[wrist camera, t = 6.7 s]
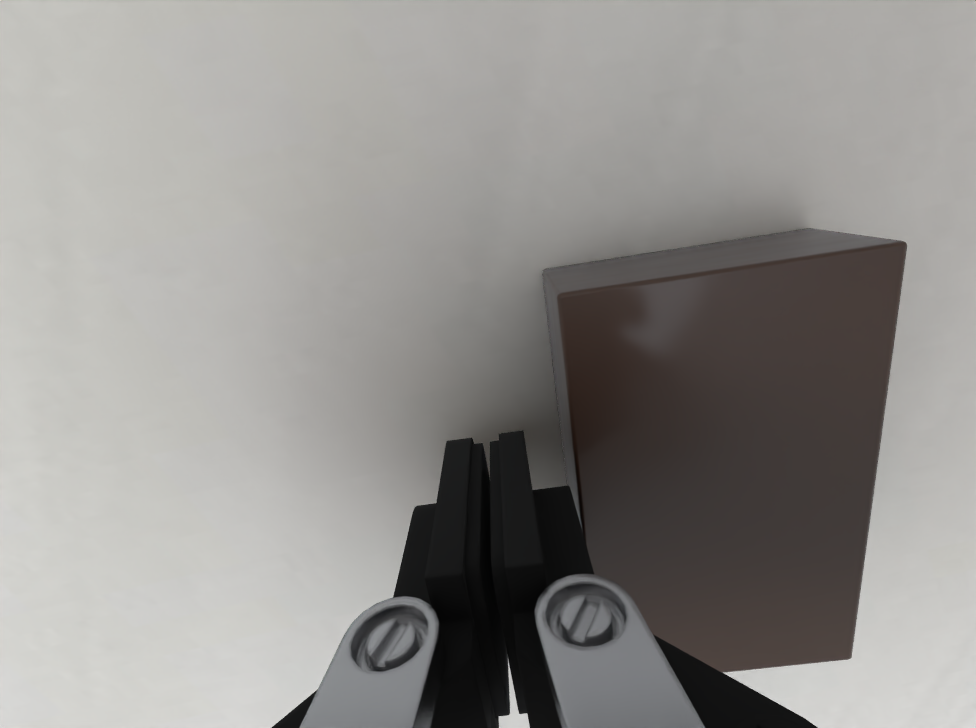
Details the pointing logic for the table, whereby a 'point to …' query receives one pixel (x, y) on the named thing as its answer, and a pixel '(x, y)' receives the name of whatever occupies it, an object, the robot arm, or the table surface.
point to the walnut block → (730, 433)
